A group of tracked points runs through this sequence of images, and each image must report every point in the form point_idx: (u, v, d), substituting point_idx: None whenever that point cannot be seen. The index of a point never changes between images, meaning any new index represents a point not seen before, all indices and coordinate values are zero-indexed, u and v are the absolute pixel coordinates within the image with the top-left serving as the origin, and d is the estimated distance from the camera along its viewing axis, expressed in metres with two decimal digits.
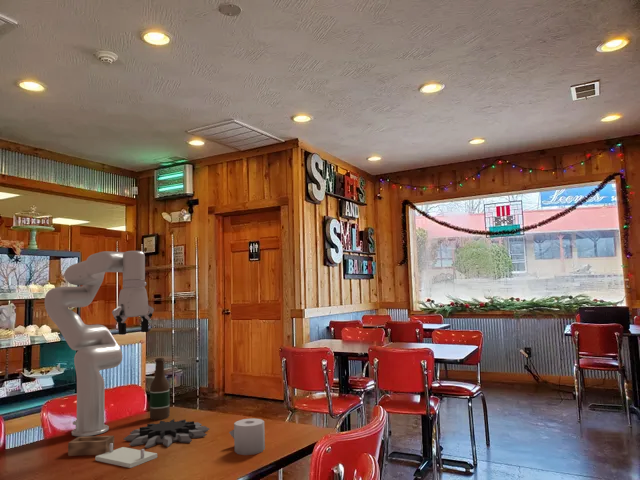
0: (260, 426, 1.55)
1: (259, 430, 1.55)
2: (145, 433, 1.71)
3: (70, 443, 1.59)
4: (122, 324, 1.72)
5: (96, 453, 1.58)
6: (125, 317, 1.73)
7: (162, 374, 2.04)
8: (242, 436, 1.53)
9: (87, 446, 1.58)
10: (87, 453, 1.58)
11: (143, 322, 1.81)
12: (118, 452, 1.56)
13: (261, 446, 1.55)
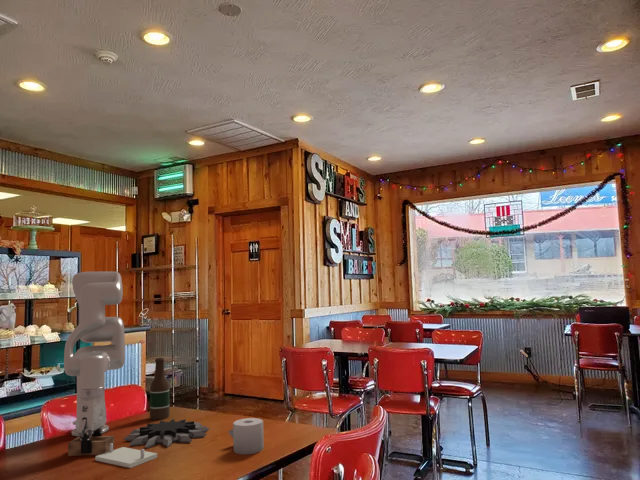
0: (259, 426, 1.56)
1: (258, 430, 1.56)
2: (145, 433, 1.71)
3: (70, 443, 1.59)
4: None
5: (96, 453, 1.58)
6: None
7: (162, 374, 2.04)
8: (240, 435, 1.54)
9: None
10: (87, 453, 1.58)
11: None
12: (118, 452, 1.56)
13: (260, 445, 1.56)
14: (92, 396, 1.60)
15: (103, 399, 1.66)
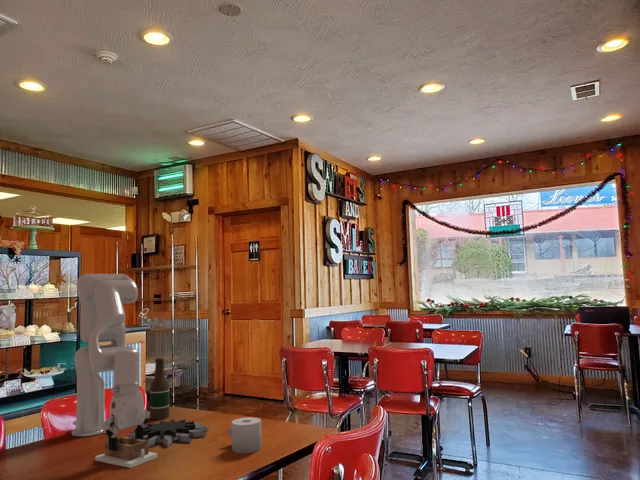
0: (257, 425, 1.57)
1: (256, 429, 1.57)
2: (145, 433, 1.71)
3: (106, 443, 1.53)
4: None
5: (124, 458, 1.49)
6: None
7: (162, 374, 2.04)
8: (239, 434, 1.55)
9: (118, 449, 1.51)
10: (118, 456, 1.50)
11: None
12: None
13: (258, 445, 1.57)
14: (121, 393, 1.51)
15: (139, 396, 1.56)
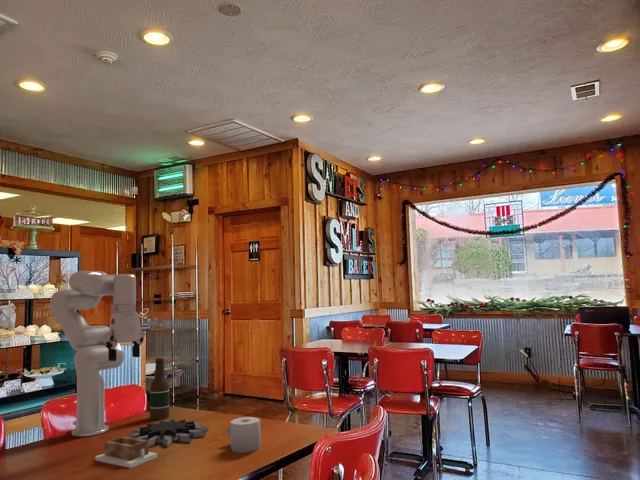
0: (256, 424, 1.58)
1: (255, 429, 1.57)
2: (145, 433, 1.71)
3: (106, 443, 1.53)
4: None
5: (124, 458, 1.49)
6: None
7: (162, 374, 2.04)
8: (238, 434, 1.56)
9: (118, 449, 1.51)
10: (118, 456, 1.50)
11: None
12: None
13: (257, 444, 1.57)
14: (119, 311, 1.71)
15: (135, 316, 1.75)
